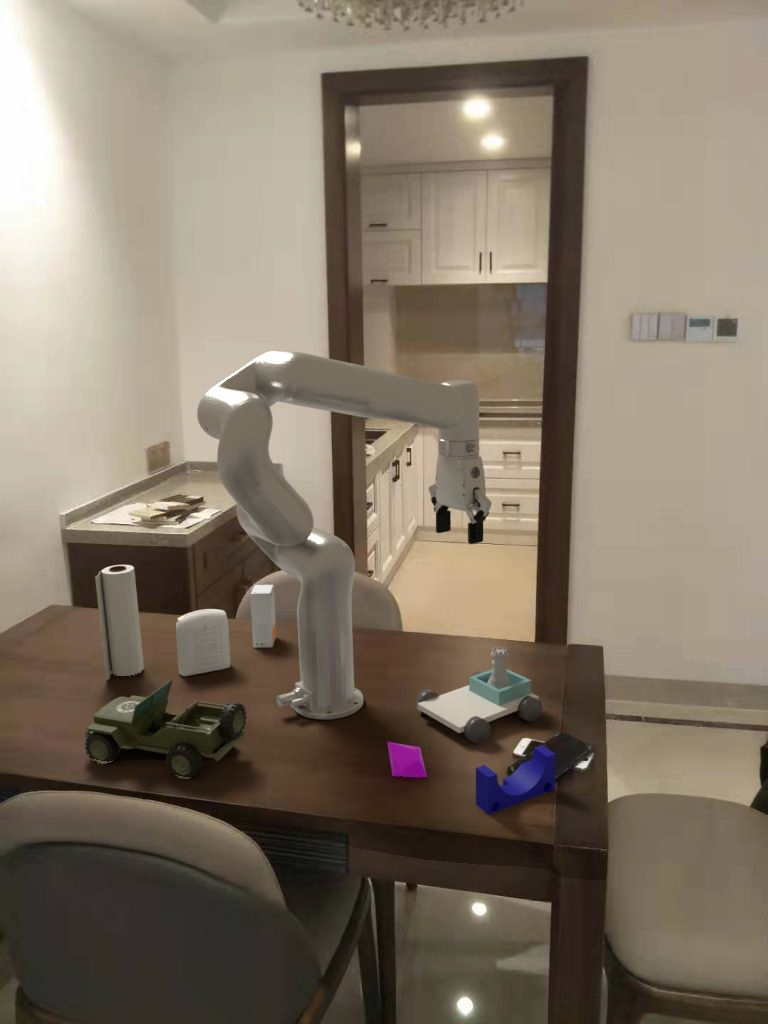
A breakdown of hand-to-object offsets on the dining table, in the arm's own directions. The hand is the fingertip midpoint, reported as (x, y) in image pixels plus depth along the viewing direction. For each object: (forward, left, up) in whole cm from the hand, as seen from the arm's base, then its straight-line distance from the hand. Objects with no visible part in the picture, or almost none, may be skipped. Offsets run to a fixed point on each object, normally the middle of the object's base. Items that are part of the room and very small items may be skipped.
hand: (459, 537), depth 166 cm
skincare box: (-25, +35, -26) cm, 50 cm away
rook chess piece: (-7, -18, -23) cm, 30 cm away
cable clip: (-24, -40, -26) cm, 53 cm away
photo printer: (-41, +30, -26) cm, 57 cm away
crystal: (-32, -26, -26) cm, 49 cm away
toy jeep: (-59, +3, -26) cm, 65 cm away
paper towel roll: (-54, +39, -26) cm, 71 cm away
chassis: (-12, -18, -26) cm, 34 cm away
